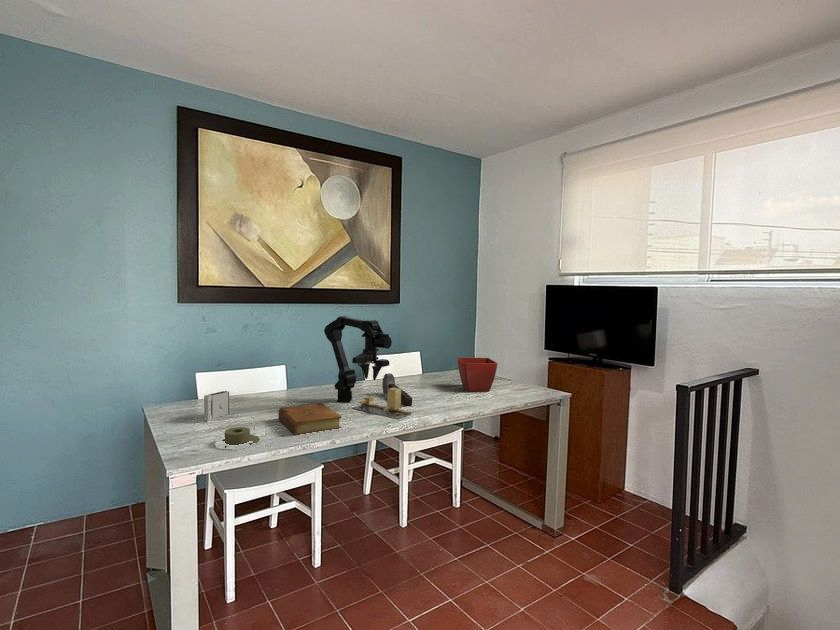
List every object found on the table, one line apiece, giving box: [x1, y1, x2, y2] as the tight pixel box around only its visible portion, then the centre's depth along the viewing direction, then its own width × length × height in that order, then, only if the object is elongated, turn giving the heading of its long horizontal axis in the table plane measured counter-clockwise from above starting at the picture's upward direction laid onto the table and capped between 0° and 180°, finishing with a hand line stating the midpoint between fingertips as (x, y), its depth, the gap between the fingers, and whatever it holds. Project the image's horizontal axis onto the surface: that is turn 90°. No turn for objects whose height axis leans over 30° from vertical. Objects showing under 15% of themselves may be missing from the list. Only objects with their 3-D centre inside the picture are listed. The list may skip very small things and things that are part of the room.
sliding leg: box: [383, 387, 402, 412], centre depth 202 cm, size 4×9×10 cm, turn 146°
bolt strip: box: [352, 404, 409, 420], centre depth 203 cm, size 27×7×1 cm, turn 56°
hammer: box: [381, 372, 413, 407], centre depth 226 cm, size 5×11×30 cm
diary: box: [277, 402, 342, 436], centre depth 182 cm, size 23×19×6 cm
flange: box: [224, 426, 261, 445], centre depth 159 cm, size 5×15×15 cm
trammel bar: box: [359, 395, 412, 416], centre depth 205 cm, size 27×8×4 cm, turn 56°
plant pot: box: [457, 357, 499, 392], centre depth 254 cm, size 19×19×17 cm
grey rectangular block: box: [203, 390, 230, 422], centre depth 188 cm, size 14×5×10 cm, turn 164°
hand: (370, 379), depth 212 cm, fingers open, 5 cm apart
